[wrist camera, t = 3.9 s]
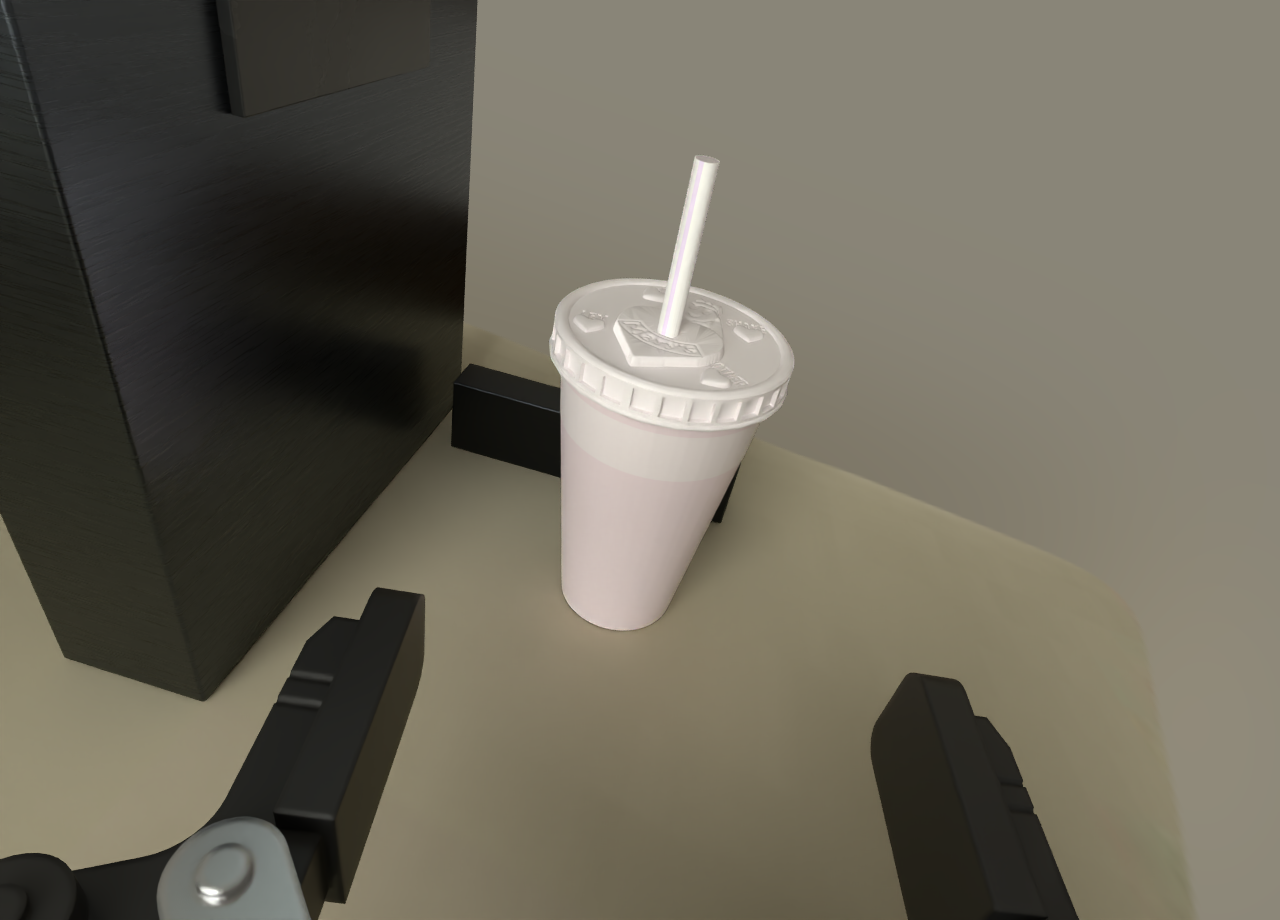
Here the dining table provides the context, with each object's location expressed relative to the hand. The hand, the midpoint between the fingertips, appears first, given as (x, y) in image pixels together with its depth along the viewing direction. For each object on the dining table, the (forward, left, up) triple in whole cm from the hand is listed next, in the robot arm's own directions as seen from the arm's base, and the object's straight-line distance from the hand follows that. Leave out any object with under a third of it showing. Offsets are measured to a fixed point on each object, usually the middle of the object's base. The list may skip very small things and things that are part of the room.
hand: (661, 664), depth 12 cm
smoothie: (+2, -9, -8) cm, 13 cm away
